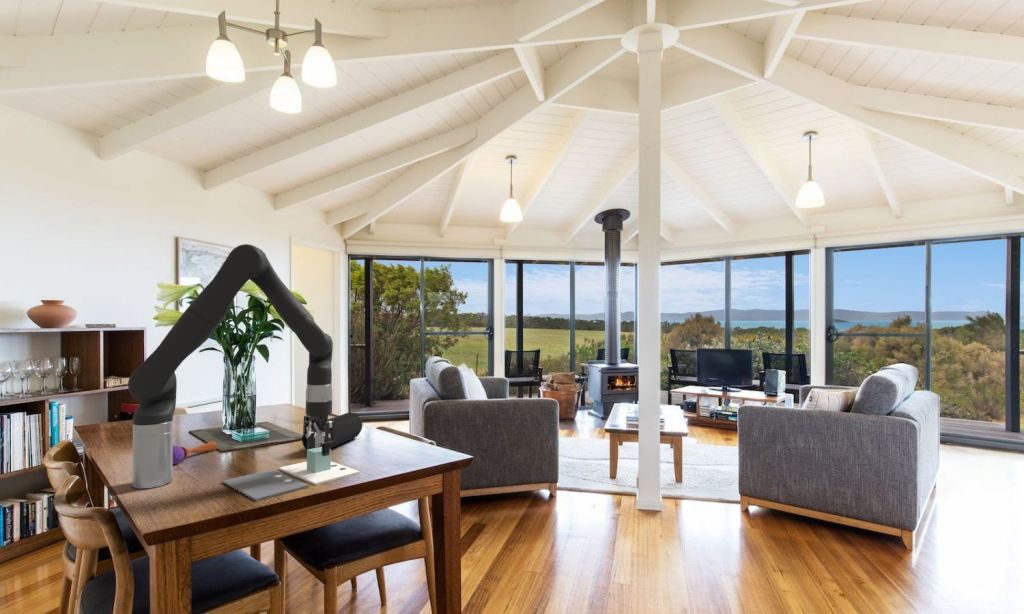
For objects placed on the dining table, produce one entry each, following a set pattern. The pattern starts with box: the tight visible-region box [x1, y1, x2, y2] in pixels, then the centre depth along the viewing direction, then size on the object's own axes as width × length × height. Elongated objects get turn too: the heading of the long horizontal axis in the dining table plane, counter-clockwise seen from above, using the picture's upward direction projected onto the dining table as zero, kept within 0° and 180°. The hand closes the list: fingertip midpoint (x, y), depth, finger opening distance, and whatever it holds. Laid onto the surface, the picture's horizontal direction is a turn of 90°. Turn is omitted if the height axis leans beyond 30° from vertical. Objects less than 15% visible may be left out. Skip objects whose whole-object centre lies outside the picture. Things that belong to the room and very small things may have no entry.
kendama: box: [173, 441, 218, 466], centre depth 170 cm, size 6×6×20 cm
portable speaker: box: [301, 412, 364, 451], centre depth 186 cm, size 26×10×10 cm, turn 166°
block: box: [306, 447, 332, 473], centre depth 155 cm, size 5×5×6 cm
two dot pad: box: [221, 468, 310, 502], centre depth 143 cm, size 22×14×1 cm, turn 49°
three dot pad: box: [278, 460, 361, 486], centre depth 155 cm, size 22×14×1 cm, turn 49°
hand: (318, 452), depth 155 cm, fingers open, 8 cm apart
